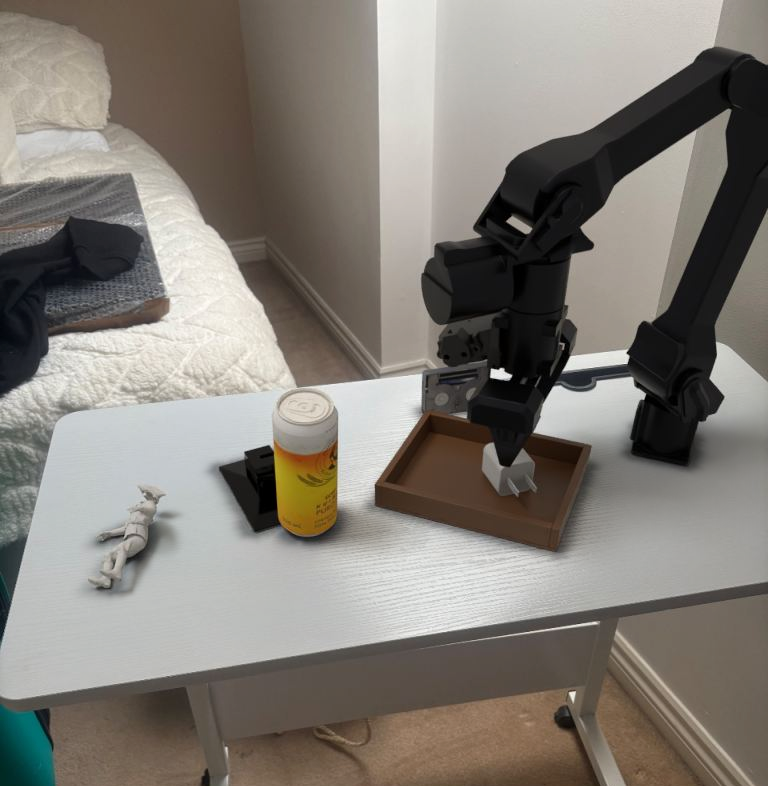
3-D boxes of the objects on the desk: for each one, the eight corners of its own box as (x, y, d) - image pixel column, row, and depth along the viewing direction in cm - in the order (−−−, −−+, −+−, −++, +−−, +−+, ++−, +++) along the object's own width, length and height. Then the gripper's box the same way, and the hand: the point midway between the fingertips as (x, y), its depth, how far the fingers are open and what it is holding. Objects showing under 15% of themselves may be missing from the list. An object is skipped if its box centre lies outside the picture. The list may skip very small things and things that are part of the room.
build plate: (318, 514, 88) (315, 479, 85) (252, 535, 85) (247, 499, 82) (276, 452, 96) (273, 419, 93) (216, 469, 94) (210, 435, 91)
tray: (588, 465, 94) (592, 444, 92) (555, 552, 83) (559, 530, 81) (425, 429, 100) (426, 409, 98) (374, 505, 88) (374, 484, 87)
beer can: (329, 545, 84) (329, 431, 73) (271, 534, 84) (262, 420, 74) (343, 504, 88) (345, 390, 77) (287, 494, 89) (282, 380, 78)
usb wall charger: (514, 467, 93) (517, 437, 90) (542, 503, 88) (547, 473, 85) (481, 474, 92) (483, 444, 89) (508, 511, 87) (511, 481, 84)
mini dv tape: (483, 401, 104) (486, 359, 101) (487, 407, 103) (491, 365, 99) (421, 411, 103) (422, 368, 99) (424, 417, 102) (426, 374, 98)
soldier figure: (72, 591, 80) (102, 488, 87) (118, 608, 83) (144, 507, 89) (109, 566, 75) (138, 458, 82) (157, 584, 78) (181, 479, 84)
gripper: (479, 251, 85) (471, 383, 95) (415, 330, 72) (412, 474, 82) (587, 267, 82) (567, 402, 92) (541, 353, 69) (522, 500, 78)
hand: (517, 441), depth 86 cm, fingers open, 9 cm apart
